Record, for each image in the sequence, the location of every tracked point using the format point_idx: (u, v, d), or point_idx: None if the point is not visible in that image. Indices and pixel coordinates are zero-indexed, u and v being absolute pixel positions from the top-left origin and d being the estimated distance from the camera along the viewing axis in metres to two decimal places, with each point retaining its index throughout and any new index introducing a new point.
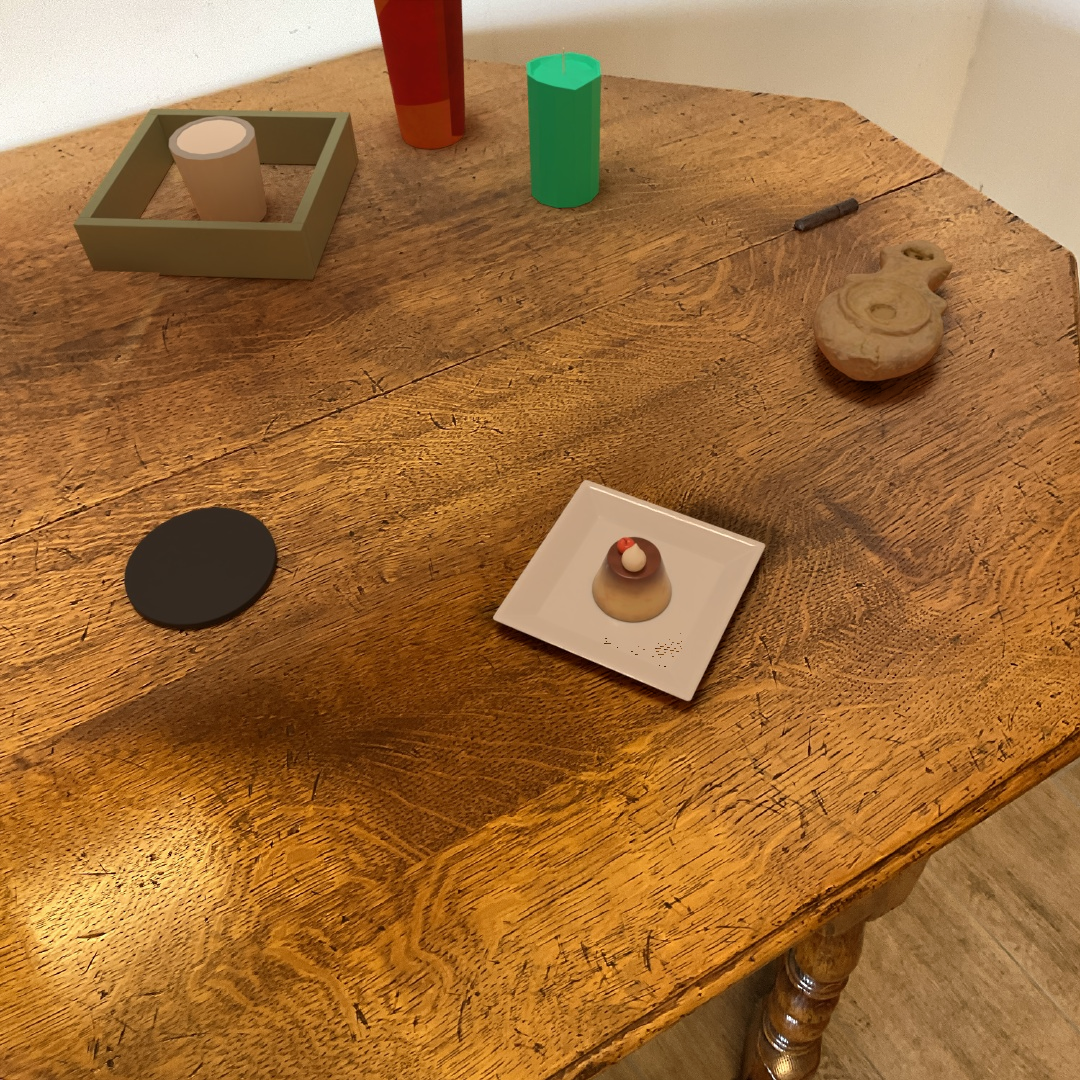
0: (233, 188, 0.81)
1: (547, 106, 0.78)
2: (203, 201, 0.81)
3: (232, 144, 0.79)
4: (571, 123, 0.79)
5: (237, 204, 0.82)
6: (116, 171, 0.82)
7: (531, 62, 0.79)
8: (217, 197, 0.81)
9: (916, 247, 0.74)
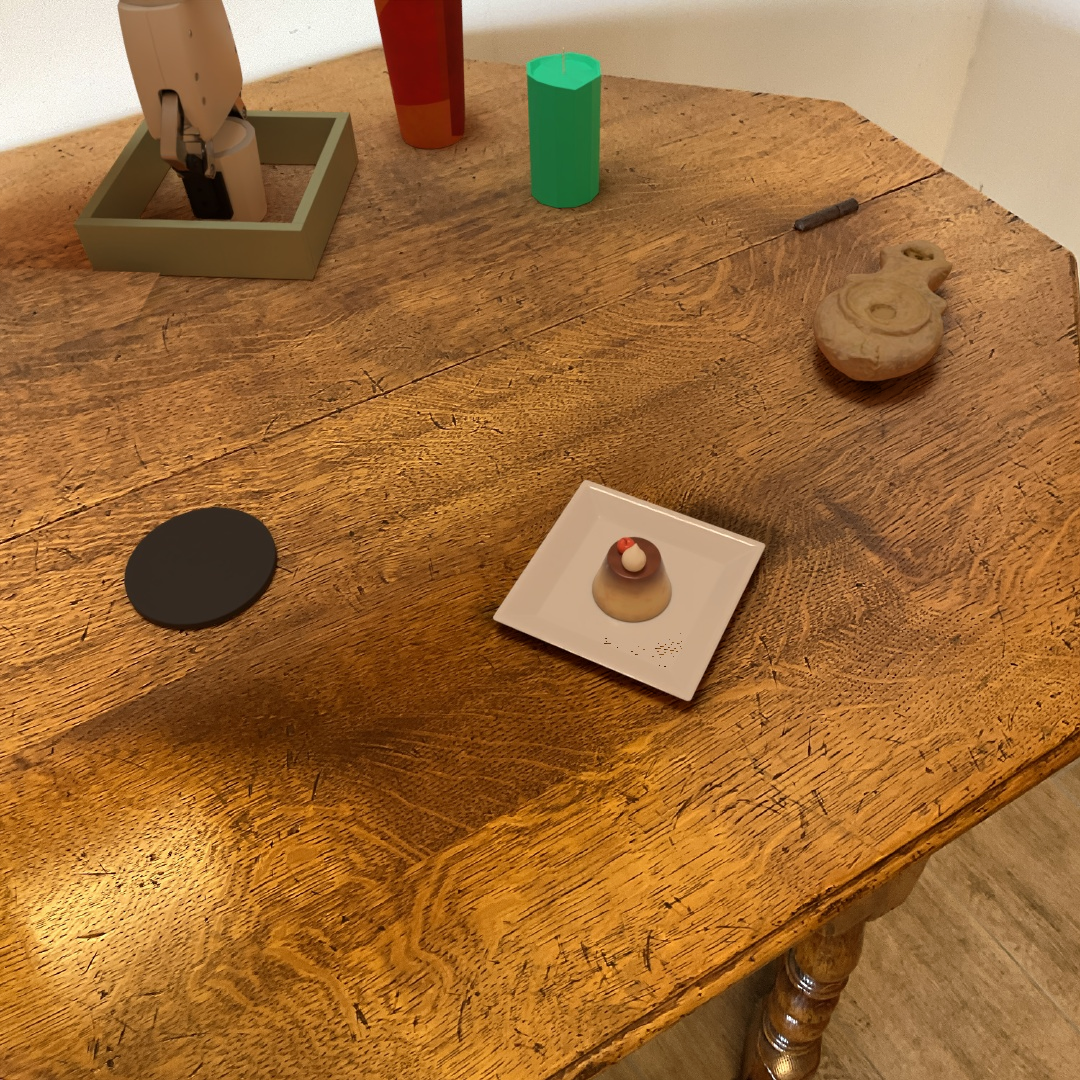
0: (233, 188, 0.81)
1: (547, 106, 0.78)
2: None
3: (232, 144, 0.79)
4: (571, 123, 0.79)
5: (237, 204, 0.82)
6: (116, 171, 0.82)
7: (531, 62, 0.79)
8: None
9: (916, 247, 0.74)
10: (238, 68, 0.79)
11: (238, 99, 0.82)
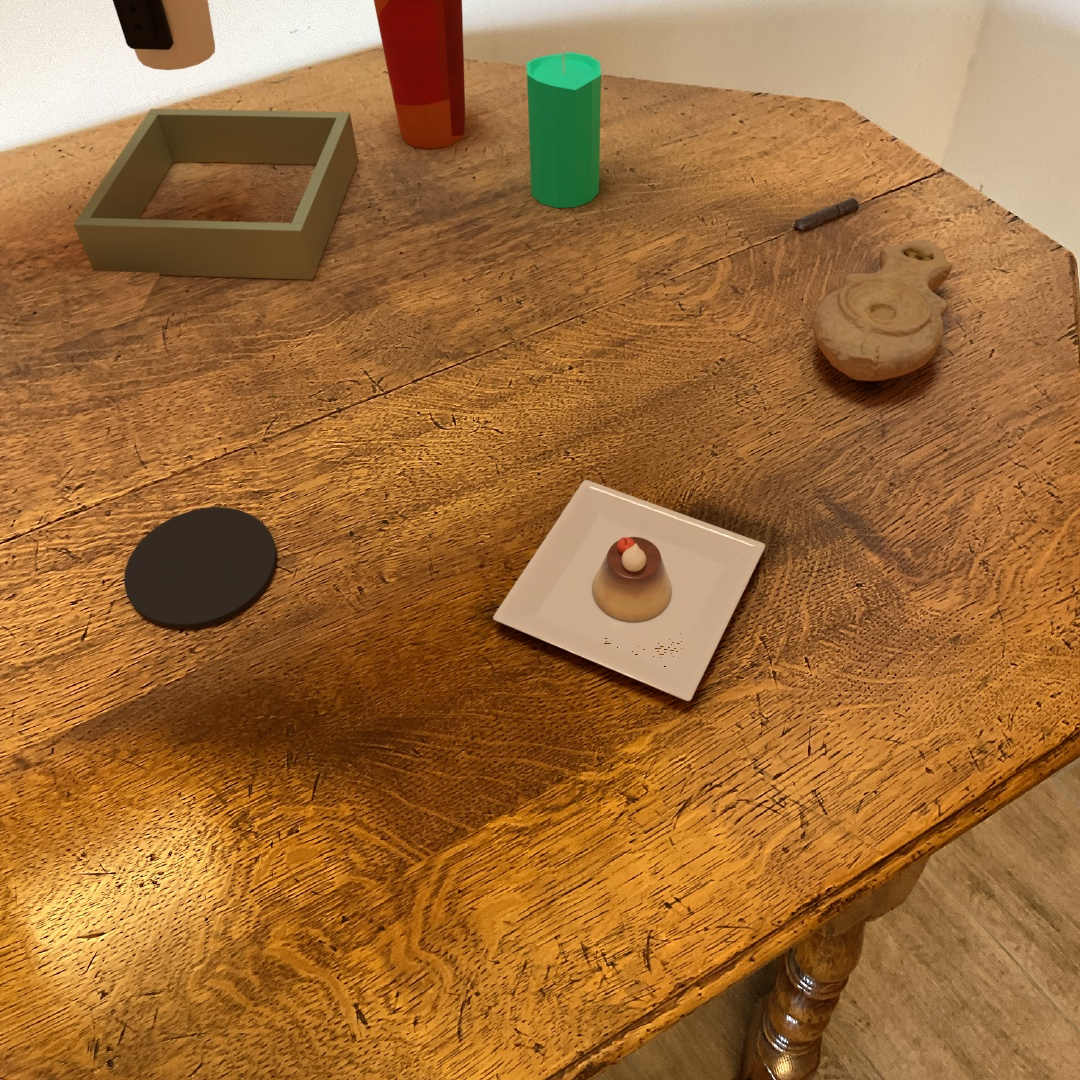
0: (173, 12, 0.69)
1: (547, 106, 0.78)
2: None
3: None
4: (571, 123, 0.79)
5: (178, 33, 0.70)
6: (116, 171, 0.82)
7: (531, 62, 0.79)
8: None
9: (916, 247, 0.74)
10: None
11: None
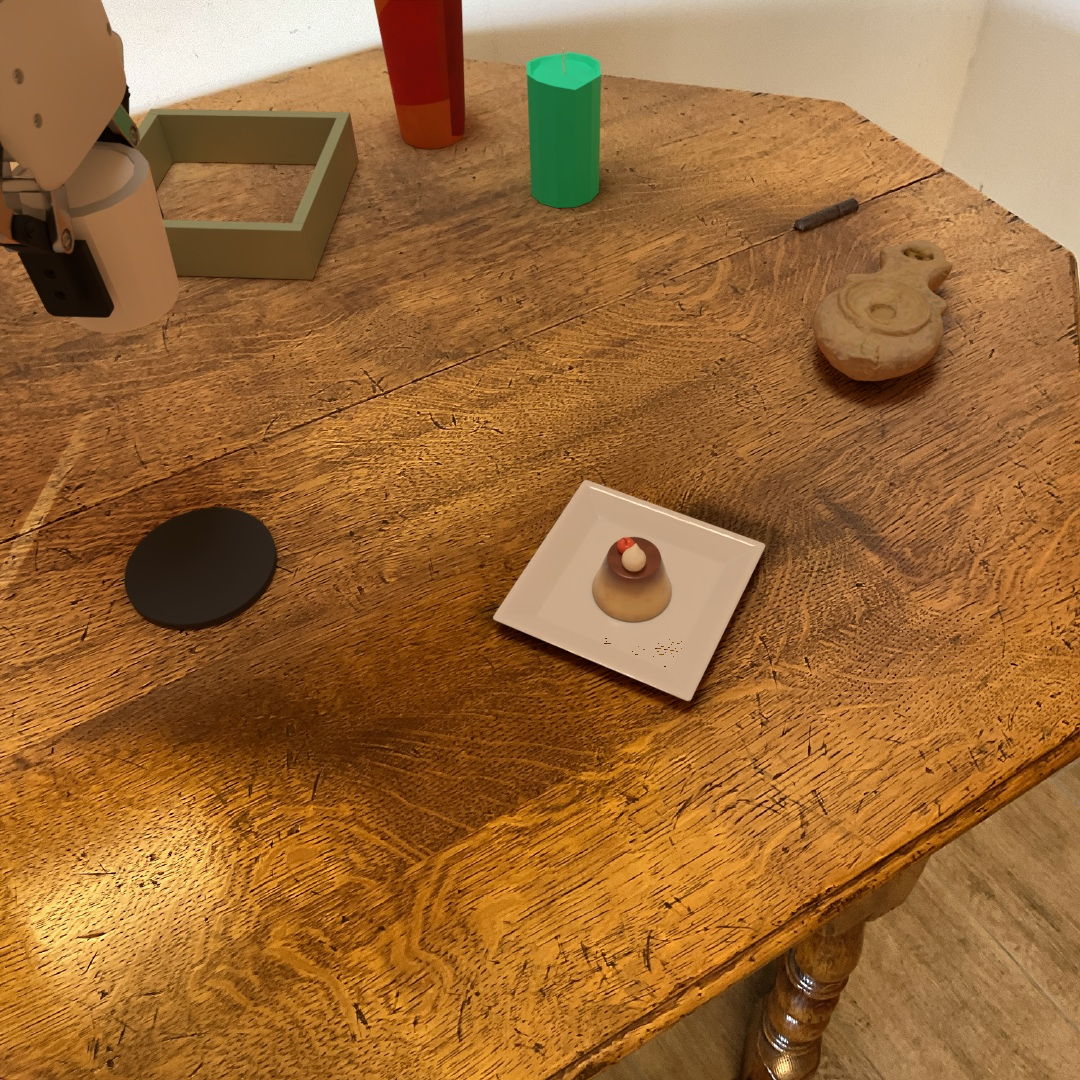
0: (113, 265, 0.47)
1: (547, 106, 0.78)
2: None
3: (108, 192, 0.46)
4: (571, 123, 0.79)
5: (122, 289, 0.49)
6: None
7: (531, 62, 0.79)
8: None
9: (916, 247, 0.74)
10: (116, 61, 0.46)
11: (121, 114, 0.48)
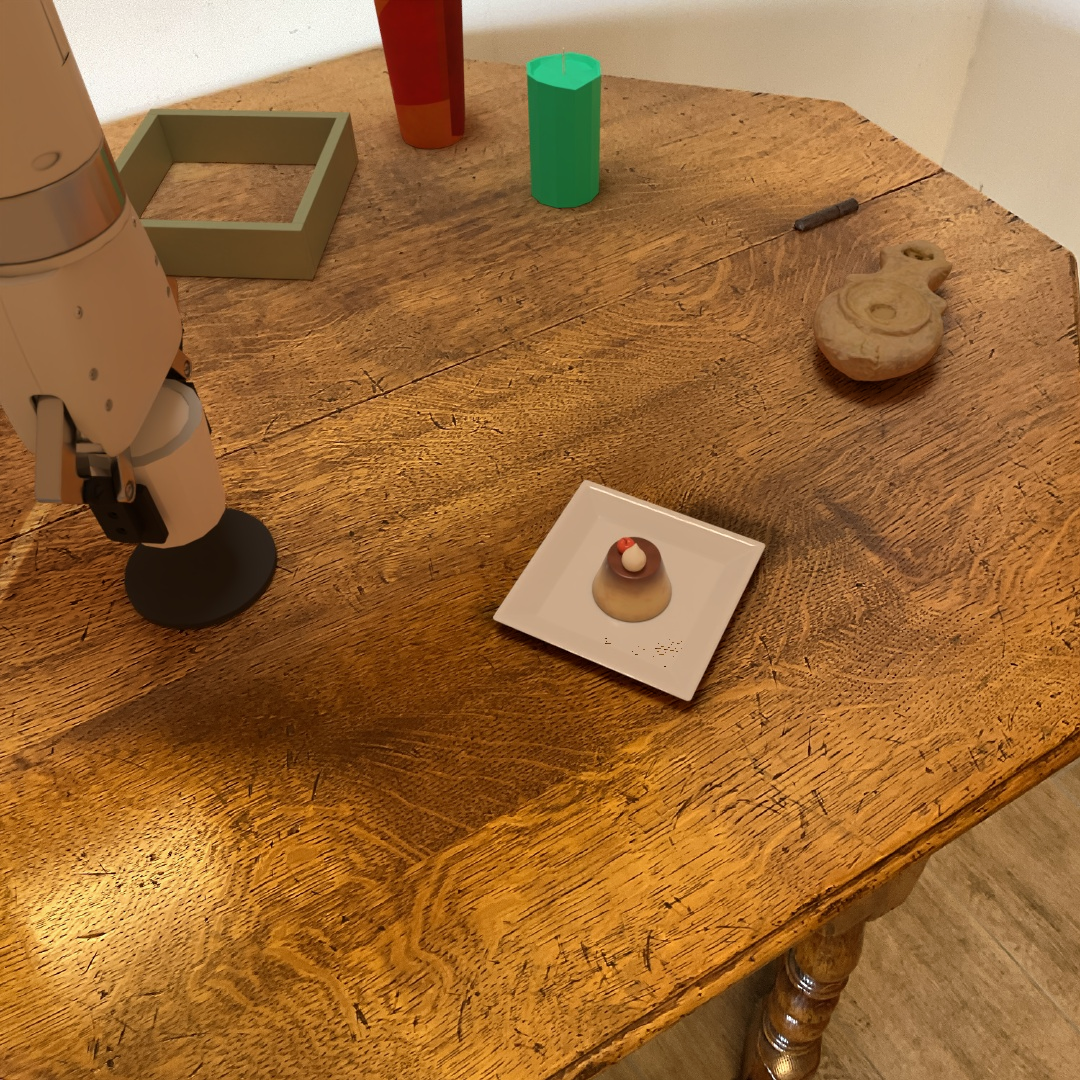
0: (169, 498, 0.52)
1: (547, 106, 0.78)
2: None
3: (166, 438, 0.50)
4: (571, 123, 0.79)
5: (176, 515, 0.53)
6: None
7: (531, 62, 0.79)
8: None
9: (916, 247, 0.74)
10: (174, 317, 0.51)
11: (176, 354, 0.53)
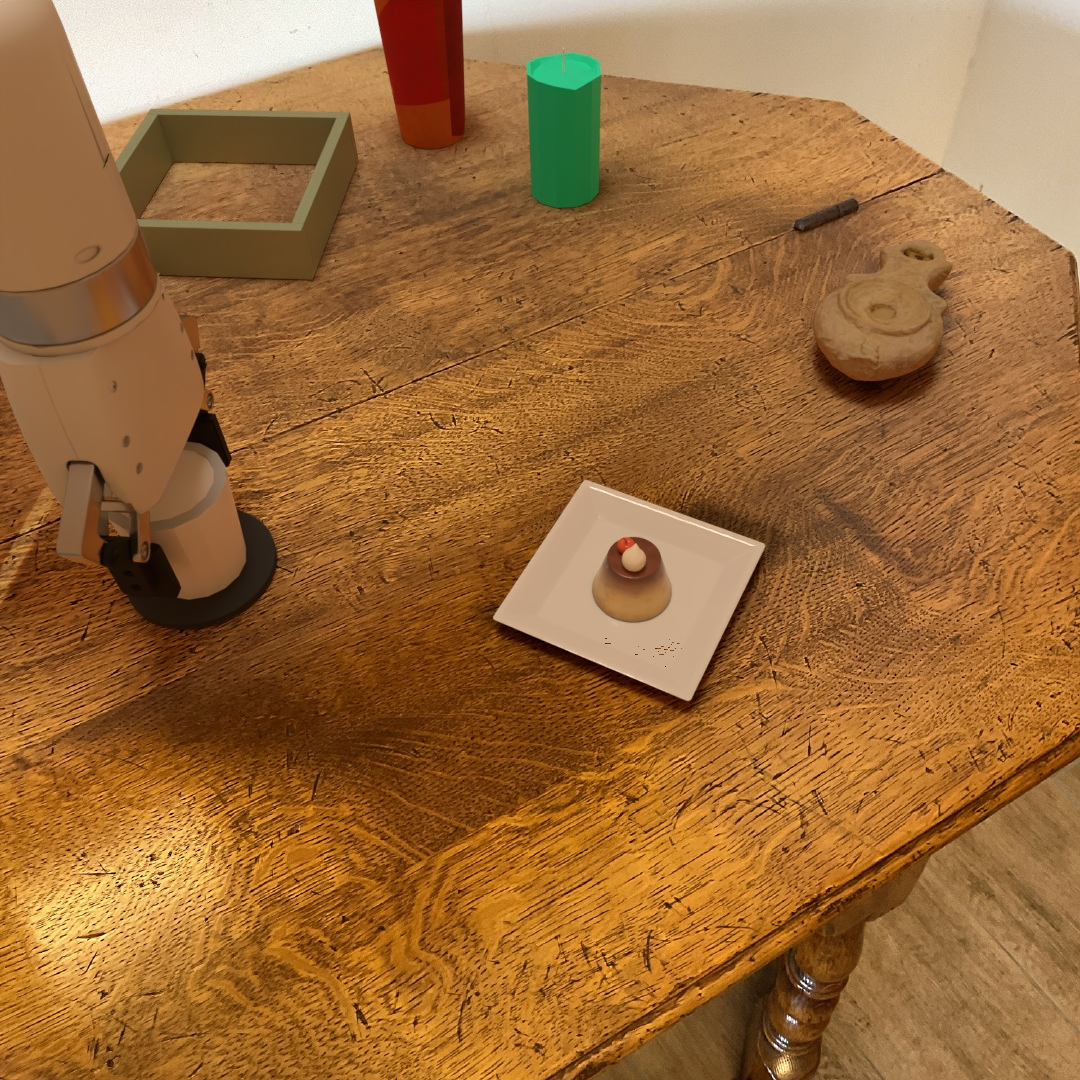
0: (195, 555, 0.55)
1: (547, 106, 0.78)
2: None
3: (193, 500, 0.54)
4: (571, 123, 0.79)
5: (201, 570, 0.57)
6: None
7: (531, 62, 0.79)
8: (172, 567, 0.56)
9: (916, 247, 0.74)
10: (197, 378, 0.54)
11: None
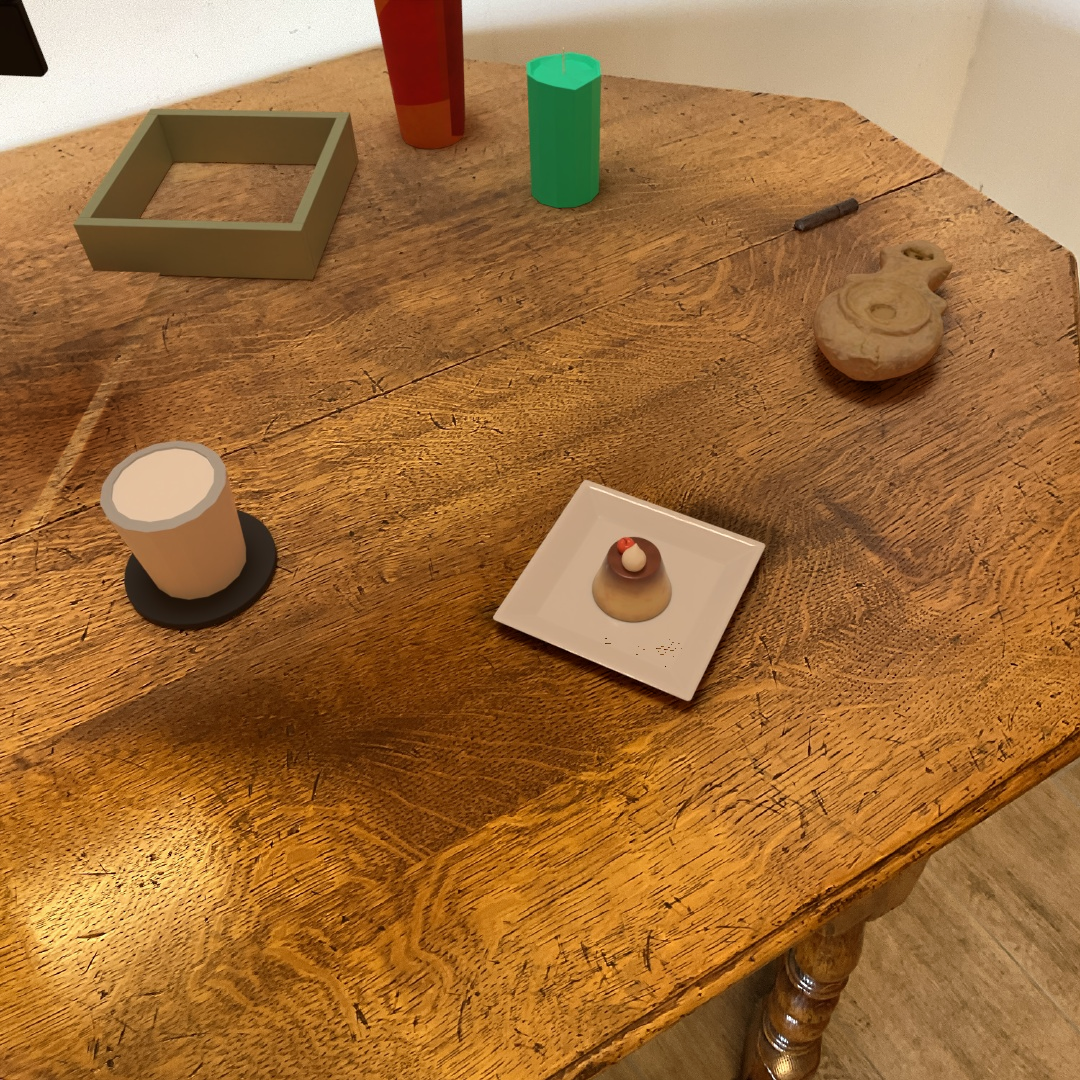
0: (195, 555, 0.55)
1: (547, 106, 0.78)
2: (152, 569, 0.56)
3: (193, 500, 0.54)
4: (571, 123, 0.79)
5: (201, 570, 0.57)
6: (116, 171, 0.82)
7: (531, 62, 0.79)
8: (172, 567, 0.56)
9: (916, 247, 0.74)
10: None
11: None
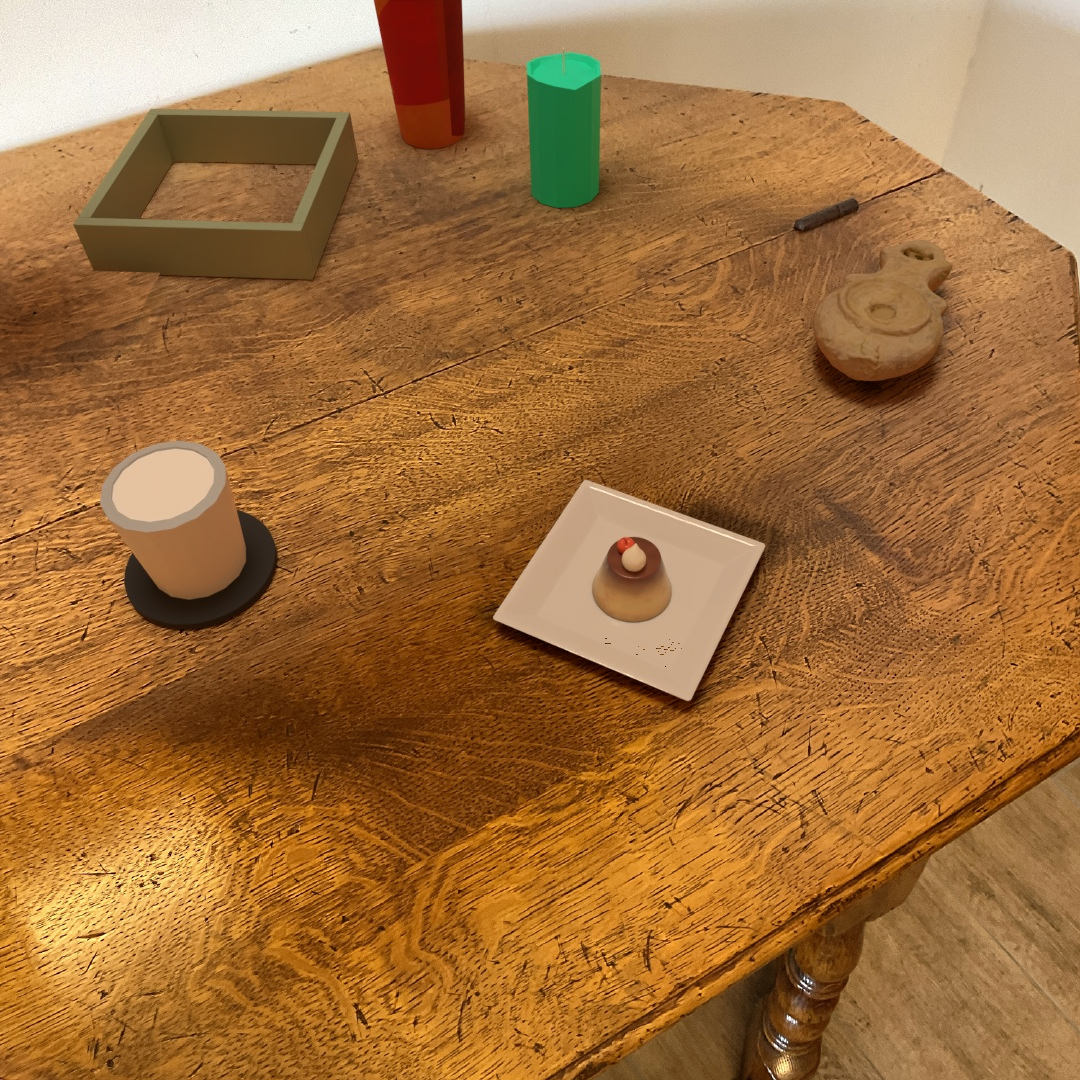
0: (195, 555, 0.55)
1: (547, 106, 0.78)
2: (152, 569, 0.56)
3: (193, 500, 0.54)
4: (571, 123, 0.79)
5: (201, 570, 0.57)
6: (116, 171, 0.82)
7: (531, 62, 0.79)
8: (172, 567, 0.56)
9: (916, 247, 0.74)
10: None
11: None
